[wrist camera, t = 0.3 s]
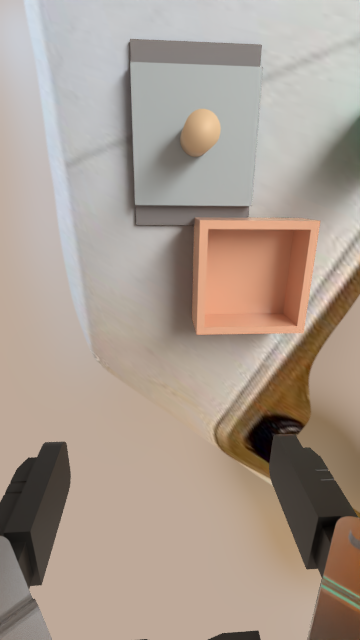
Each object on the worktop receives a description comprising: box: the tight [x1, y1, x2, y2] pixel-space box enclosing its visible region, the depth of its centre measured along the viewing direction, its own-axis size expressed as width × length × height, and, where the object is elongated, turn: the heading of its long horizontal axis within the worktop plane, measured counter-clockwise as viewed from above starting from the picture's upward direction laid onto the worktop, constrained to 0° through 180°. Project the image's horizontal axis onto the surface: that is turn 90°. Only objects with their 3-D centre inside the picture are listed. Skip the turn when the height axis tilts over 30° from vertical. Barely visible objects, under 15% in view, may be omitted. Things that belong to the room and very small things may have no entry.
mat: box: [130, 39, 262, 225], centre depth 33 cm, size 16×12×1 cm
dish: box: [192, 217, 320, 335], centre depth 36 cm, size 12×12×5 cm
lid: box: [130, 62, 263, 206], centre depth 30 cm, size 12×12×6 cm
